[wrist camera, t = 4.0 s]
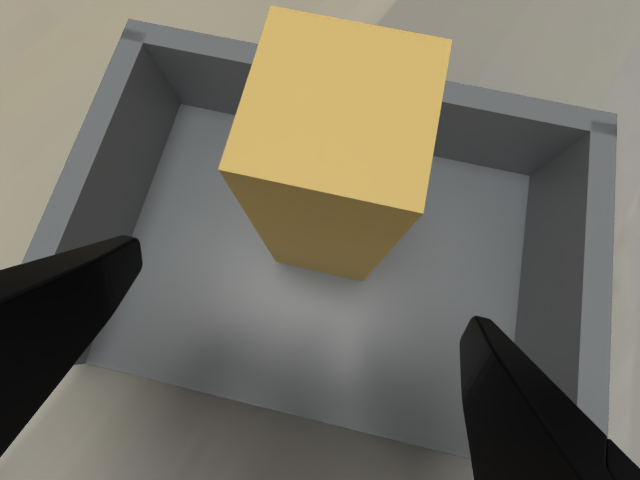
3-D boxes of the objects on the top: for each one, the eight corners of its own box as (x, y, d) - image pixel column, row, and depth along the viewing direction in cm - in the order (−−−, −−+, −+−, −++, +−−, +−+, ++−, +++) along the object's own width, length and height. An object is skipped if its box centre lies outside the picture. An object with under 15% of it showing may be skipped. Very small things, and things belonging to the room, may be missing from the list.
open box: (516, 465, 19) (605, 527, 13) (76, 356, 20) (-24, 367, 14) (541, 169, 23) (617, 113, 17) (174, 94, 24) (128, 18, 18)
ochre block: (362, 281, 20) (423, 213, 8) (275, 261, 20) (217, 169, 9) (379, 199, 21) (452, 39, 10) (297, 181, 21) (271, 5, 10)
